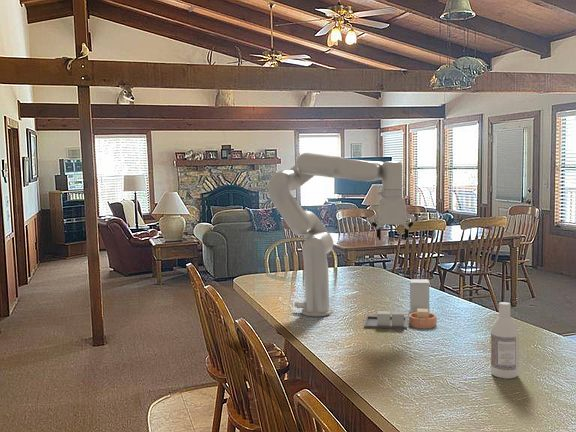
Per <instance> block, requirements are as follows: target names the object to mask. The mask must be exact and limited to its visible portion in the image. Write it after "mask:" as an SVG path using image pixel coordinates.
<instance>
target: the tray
mask: <svg viewBox="0 0 576 432" xmlns="http://www.w3.org/2000/svg"><path fill="white" fill-rule="evenodd" d="M363 328H364V329H382V330H383V329H384V330H386V329H387V330H388V329H389V330H390V329H391V330H408V318H407V316H404V326H392V316H390V326H377V315H375V316H374V315H366V317H365V320H364V325H363Z"/></svg>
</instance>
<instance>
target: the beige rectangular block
mask: <svg viewBox="0 0 576 432" xmlns="http://www.w3.org/2000/svg"><path fill="white" fill-rule="evenodd" d="M417 318H421V319H427V318H428V309H417Z"/></svg>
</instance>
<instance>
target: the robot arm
mask: <svg viewBox="0 0 576 432" xmlns="http://www.w3.org/2000/svg"><path fill="white" fill-rule="evenodd" d="M315 176H318V177H325V178H333V179H345V180H352V181H360V182H374V181H381V190H380V191H379V190H378V191H377V194H378V195H377V196H381V197H380V198H379V202H378V212H377V213H376V214H374V215H371V216H370V217H369V218H368V220H369V221H370V223H371V225H372V226H373V228H375V229H376V238H378V240H379V241H381V240H382V235H381V234H382V229H381V227H382V226H383V225H384V226H385V225H387V226H388V225H389V226H399V225H400V226H401V225H402V226H403V227H404V240H405V241H407V238H408V239H409V230H410V228H411V227H412V226H413V225H414V224H415V222H416V220H417V218H416V216H413V215H412V214H410V213H408V212H407V208H406V207H407V204H406V201H405V200H406V199H405V197H403V163H402V162H401V161H399V160H396V161H395V160H391V161H375V160H360V159H352V158H351V159H350V158H345V157H342V156H340V155H334V154H333V155H332V154H331V155H330V154H322V153H314V152H303V153H300V154H299V156H298V157H297V159H296V163H295V165H294V166H292V167H290V168H289V169H282V170H279V171H276V172H275V173H274V174H272V176H271V178H270V180H269V181H268V186H267V191H268V196H269V199H270V201H271V202H272V204H273V206H274V207H275V208H276V209H277V211H278V212H279V214H280V216H281V217H282V219H283V220H284V222H285V223H286V225H287V226H288V228H289V229H290V230H291V232H292V233H293V234H294V235H295V236H298V237H299V236H300V237H302V236H303V237H304V238H305V239H304V242H303V243H302V248H301V250H302V251H301V252H302V258H303V267H304V269H303V272H304V296H305V297H304V300H305V301H302V302H299V301H295V302H294V307H295V308H297V309H301V314H302V315H304V316H306V317H307V316H308V317H315V318H316V317H319V318H320V317H326V316H330V315H332V314H333V313H334V309H333V308H332V307H330V287H329V286H330V284H329V281H330V280H329V263H328V254H330V252H331V251H332V250H333V248H334V240H333V237H332V236H331V234H330V232H329V231H328V230H327V228H326V227H325V225H324V224H323V222H322V221H321V220H320V218H319V217H318V216H317V214H315V212H312V211H311V210H305V209H303V208H302V206H301V205H300V203H299V202H298V200H297V199H296V198H295V197H294V196H293V195H292V194H291V192H292V191H295V190H298V189H299V188H301V186H303V185H305V184H306V183H307V182H308V181H310V180H311V179H312V178H314V177H315ZM377 218H378V223H377V222H375V219H377ZM407 218H409V220H410V222H409V223H408V222H407Z"/></svg>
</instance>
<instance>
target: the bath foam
mask: <svg viewBox="0 0 576 432" xmlns="http://www.w3.org/2000/svg"><path fill="white" fill-rule="evenodd" d="M490 373H491V375H492V376H494V377H497V378H499V379H506V380H508V379H509V380H510V379H514V378H517V377H518V375H519V331H518V327H517V324H516V323H515V321H514V319H513V318H512V316H511V303H510V302H506V301H501V302H498V316H497V318H496V319H495V320H494V322H493V323H492V326H491V330H490Z"/></svg>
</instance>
